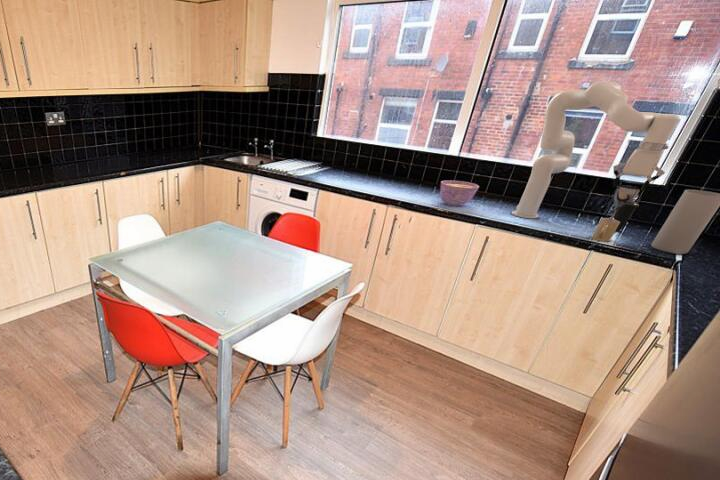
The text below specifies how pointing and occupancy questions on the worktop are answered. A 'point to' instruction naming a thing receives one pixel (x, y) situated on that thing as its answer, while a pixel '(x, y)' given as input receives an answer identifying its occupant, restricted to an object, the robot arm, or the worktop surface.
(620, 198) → the wine glass
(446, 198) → the bowl of food
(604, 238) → the wooden mug
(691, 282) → the worktop surface
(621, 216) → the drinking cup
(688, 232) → the taupe cylinder
